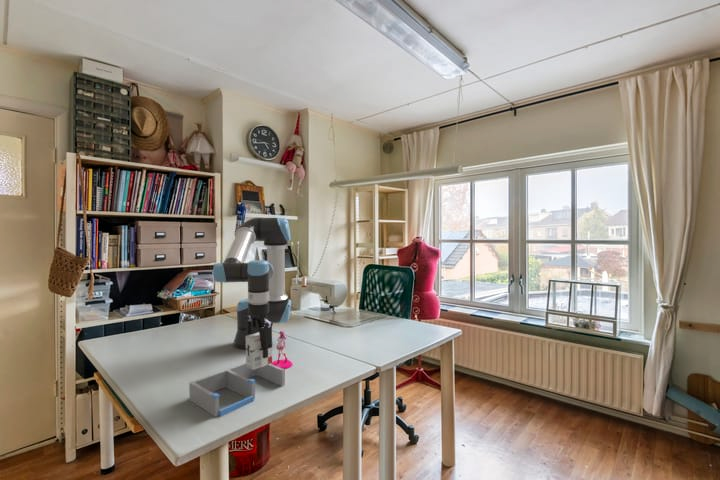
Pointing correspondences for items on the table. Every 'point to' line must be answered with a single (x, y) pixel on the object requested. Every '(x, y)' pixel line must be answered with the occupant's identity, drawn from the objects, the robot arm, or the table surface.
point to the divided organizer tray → (231, 386)
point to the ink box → (255, 351)
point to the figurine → (280, 346)
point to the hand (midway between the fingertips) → (259, 363)
